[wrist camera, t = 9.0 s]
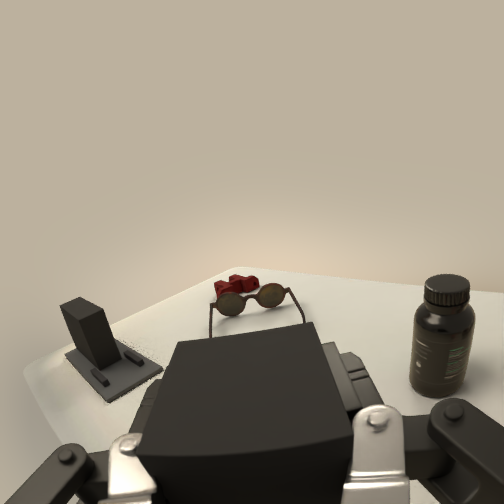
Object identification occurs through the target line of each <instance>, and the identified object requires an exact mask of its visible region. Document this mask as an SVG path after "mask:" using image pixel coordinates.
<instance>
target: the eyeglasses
mask: <svg viewBox="0 0 504 504" xmlns="http://www.w3.org/2000/svg"><path fill="white" fill-rule="evenodd" d="M288 292H289V294H290V295H291V297H292V299H293V301H294V302H295V304H296V306H297V307H298V309H299V311H300V313H301V315H302V318H303V323H306V321H305V316H304V313H303V310H302V309H301V307H300V305H299V303H298V301H297V300H296V298H295V296H294V294H293V293H292V291H291V289H290V288H289V287H288V288H285V289H284V288H283V286H282V285H280V284H277V283H269V284H266V285H265V286H263V287H262V288H261V289H260V290H259V292H258V293H257V294H251V295H247V296H245V297H242V296H240V295H239V294H237V293H235V292H225V293H223V294H221V295H220V296H219V297H218V299H217V301H216V302H215V303H210V318H209V338H212V314H213V308H216V309H217V310H218V311H219V312H220V313H221V314H223V315H225V316H236V315H239V314H240V313H241V312H242V311H243V310H244V308H245V305H246V301H247V300H248V299H249V298H254V299H255V300H256V301H257V302H258V304H259V305H261V306H262V307H265V308H273V307H276V306H278V305H279V304H281V303H282V301H283V300H284V298H285V294H286V293H288Z"/></svg>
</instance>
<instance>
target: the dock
mask: <svg viewBox="0 0 504 504" xmlns="http://www.w3.org/2000/svg"><path fill="white" fill-rule="evenodd" d="M60 308H61V311H62V313H63V316H64V319H65V321H66V324H67V326H68V329H69V331H70V334H71V336H72V339H73V341H74V343H75V346H76V349H74V350H72V351H70V352H68V353H66V354H65V356H66V358H67V359H68V360H69V361H70V362H71V364H72V365H73V366H74V367H75V368H76V369H77V371H78V372H79V373H80V374H81V375H82V376H83V377H84V378H85V379H86V381H87V382H88V383H89V384H90V385H91V386H92V387H93V388H94V389H95V390H96V391H97V392H98V393H99V394H100V395H101V396H102V397H103V398H104V399H105V400H106V401H107V402H108V403H109V402H111V401H113V400H114V399H116V398H118V397H119V396H121V395H123V394H124V393H126V392H128V391H129V390H131V389H133V388H134V387H136V386H138V385H139V384H141V383H143V382H144V381H146V380H148V379H149V378H151V377H152V376H154V375H156V374H157V373H159V372H160V371H162V370H163V368H162V366H160V365H158V364H156V363H155V362H153V361H151V360H149V359H148V358H146V357H144V356H142V355H141V354H139V353H137V352H136V351H134V350H132V349H131V348H129V347H127V346H126V345H124V344H123V343H121V342H119V341H118V340H116V339H115V338H114V337H113V334H112V332H111V329H110V326H109V323H108V321H107V318H106V315H105V312H104V310H103V308H100V307H98V306H97V305H94V304H93V303H91V302H89V301H86V300H85V299H83V298H81V297H78V298H76V299H74V300H71V301H69V302H67V303H64V304H62V305H60Z"/></svg>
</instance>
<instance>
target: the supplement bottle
mask: <svg viewBox="0 0 504 504" xmlns="http://www.w3.org/2000/svg"><path fill="white" fill-rule="evenodd" d="M469 292H470V283H469V281H468V280H467V279H466V278H464V277H462V276H458V275H454V274H440V275H436V276H433V277H430V278H428V279H427V280H426V282H425V289H424V303H422V304H421V305H420V306H419V307H418V309H417V310H416V312H415V315H414V326H413V341H412V353H411V363H410V374H409V379H410V383H411V385H412V387H413V388H414V389H415V390H416V391H417V392H419V393H420V394H422V395H425V396H429V397H444V396H447V395H450V394H452V393H454V392H455V391H456V390H458V389H459V388H460V386H461V385H462V383H463V381H464V378H465V374H466V370H467V365H468V360H469V355H470V350H471V345H472V339H473V333H474V327H475V313H474V310H473V309H472V307H471V306H470V305H469V304H468V303H469V300H470V295H469Z"/></svg>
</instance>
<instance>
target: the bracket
mask: <svg viewBox="0 0 504 504" xmlns="http://www.w3.org/2000/svg"><path fill="white" fill-rule="evenodd" d="M214 287H215V291H216V295H217V299H218V297H219V296H220V295H221V294H223V293H225V292H235V293H237V294H238V293H240V292H243V291H244V292H247V293H248V292H250V291H252V290H254V289H256V288H259V287H260V285H259V280H258V278H256V277H255V276H252V275H251V276H248V277H243V276H240V275H236V274H235V275H232V276H230V277H229V282H225V281H222V280H220V281H217V282H215V283H214Z"/></svg>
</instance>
